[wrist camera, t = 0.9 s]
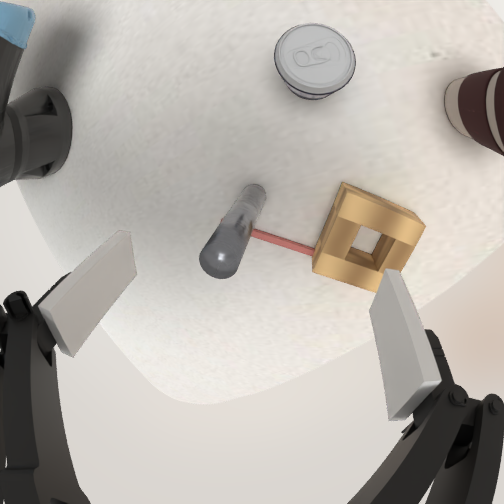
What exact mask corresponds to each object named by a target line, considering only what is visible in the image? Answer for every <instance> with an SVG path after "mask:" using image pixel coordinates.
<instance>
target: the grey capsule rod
mask: <svg viewBox="0 0 504 504" xmlns="http://www.w3.org/2000/svg"><path fill="white" fill-rule="evenodd" d="M265 200H266V192H265V190H264V189H263V188H262V187H261V186H259V185H257V184H251V185H248V186H247V187H245V189H244V190H243V191H242V193H241V194H240V196H239V197H238V199H237V200H236V201H235V203H234V204H233V206H232V207H231V208H230V210H229V211H228V213H227V214H226V216H225V217H224V219H223V220H222V221H221V223H220V224H219V226H218V227H217V229H216V230H215V232H214V233H213V235H212V236H211V238H210V239H209V241H208V242H207V244H206V245H205V247H204V248H203V250H202V251H201V253H200V256H199V261H200V265H201V267H202V268H203V270H204V271H205V272H206V273H207V274H209V275H210V276H212V277H214V278H218V279H226V278H229V277H231V276H233V275H234V274H235V273H236V271H237V269H238V266H239V264H240V261H241V259H242V256H243V254H244V251H245V249H246V246H247V244H248V241H249V239H250V237H251V234H252V232H253V229H254V227H255V224H256V222H257V219H258V217H259V214H260V212H261V210H262V207H263V205H264V202H265Z"/></svg>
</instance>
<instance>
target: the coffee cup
mask: <svg viewBox="0 0 504 504" xmlns="http://www.w3.org/2000/svg"><path fill="white" fill-rule="evenodd" d="M445 108H446V112H447V115H448V118H449V120H450V122H451V123H452V125H453V126H454V127H455V128H456V129H457V130H458V131H459V132H460V133H461V134H463V135H465V136H467V137H470V138H472V139H474V140H475V141H476V142H478V143H479V144H481V145H483V146H485V147H487V148H489V149H491V150H493V151H495V152H497V153H499V154H501V155H503V156H504V67H503V68H498V69H492V70H487V71H482V72H478V73H473V74H471V75H469V76H467V77H464V78H460V79H456V80H454V81H453V82H452V83H451V84H450V85H449V86H448V88H447V91H446V94H445Z"/></svg>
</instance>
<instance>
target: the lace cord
mask: <svg viewBox="0 0 504 504" xmlns="http://www.w3.org/2000/svg"><path fill="white" fill-rule="evenodd" d="M222 220H223V219H222ZM222 220H221V221H222ZM251 236H252V237H255V238H258V239H261V240H264V241H267V242H270V243H273V244H277V245H280V246H283V247H286V248H289V249H292V250H295V251H298V252H301V253H304V254H307V255H310V256H313V254H314V252H315V249H314V248H311V247H308V246H305V245H302V244H299V243H296V242H293V241H290V240H287V239H284V238H281V237H278V236H275V235H272V234H269V233H266V232H263V231H260V230H257V229H253V232H252V234H251Z"/></svg>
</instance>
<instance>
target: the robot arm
mask: <svg viewBox="0 0 504 504" xmlns="http://www.w3.org/2000/svg"><path fill="white" fill-rule="evenodd" d="M34 22H35V13H34V11H33V10H32V9H30V8H28V7H24V6H20V5H15V4H11V3H6V2H0V187H1V186H3V185H5V184H6V183H9V182H11V181H13V180H17V179H40V178H44V177H46V176H49V175H51V174H53V173H55V172H56V171H58V170H59V169H60V168H61V166H62V165H63V163H64V162H65V160H66V157H67V155H68V152H69V148H70V143H71V136H72V123H71V115H70V111H69V107H68V104H67V102H66V100H65V98H64V96H63V95H62V94H61V93H60V92H59V91H58V90H57V89H55V88H52V87H42V88H36V89H33V90H31V91H29V92H27V93H26V94H24V95H22V96H21V97H19V98H17V99H16V100H14V101H12V102H11V103H9V104H7V103H8V99H9V95H10V91H11V88H12V84H13V81H14V77H15V74H16V71H17V68H18V65H19V62H20V59H21V56H22V54H23V51H24V49H26V47H27V44H26V43H27V40H28V38H29V35H30V32H31V30H32V27H33V25H34ZM136 275H137V272H136V266H135V261H134V255H133V248H132V242H131V235H130V232H127V231H120V230H119V231H117V232H116V233H115V234H114V235H113V236H111V237H110V238H109V239H108V240H107V241H106V242H104V243H103V244H102V245H101V246H100V247H99V248H98V249H96V250H95V251H94V252H93V253H92V254H91V255H90V256H89V257H87V258H86V259H85V260H84V261H83V262H82V263H81V264H80V265H79V266H78V267H77V268H76V269H74V270H73V271H72V272H70V273H68V274H66V275H65V276H63V277H61V278H60V279H59V280H58V281H57V282H56V283H55V285H53V286H52V287H51V289H50V290H48V291H47V292H46V293H45V294H44V295H43V296H42V297H41V298H40V299H39V300H38V302H37V303H36V304H35V305H33V307H32V306H31V303H30V301H29V299H28V297H27V294H26V293H25V292H24V291H16V292H13V293H11V294H10V295H9V296H8V297H7V298H6V299H5V300H4V302H3V305H4V307H5V309H6V311H7V313H5V311H4V309H3V307H2V306H1V305H0V349H1V352H0V504H3V501H4V502H5V504H91V503H90V501H89V500H88V498H87V496H86V495H85V494H84V493H83V491H82V490H81V488H80V487H79V484H78V481H77V478H76V475H75V471H74V468H73V464H72V460H71V457H70V452H69V448H68V445H67V439H66V434H65V429H64V424H63V418H62V412H61V406H60V399H59V391H58V380H57V368H56V354H55V350H54V348H53V347H54V346H55V345H56V343H57V345H58V347H59V348H60V350H61V352H62V353H65V354H66V355H69V356H71V357H74V356H75V354H76V353H77V352H78V350H79V349H80V347H81V346H82V345H83V343H84V342H85V340H86V339H87V338H88V336H89V335H90V334H91V332H92V331H93V330H94V328H95V327H96V326H97V324H98V323H99V322H100V320H101V319H102V318H103V316H104V315H105V314H106V313H107V311H108V310H109V309H110V307H111V306H112V305H113V304H114V302H115V301H116V300H117V299H118V297H119V296H120V295H121V294H122V292H123V291H124V290H125V289H126V287H127V286H128V285H129V284H130V282H131V281H132V280H133V279H134V278H135V276H136ZM369 313H370V317H371V321H372V326H373V330H374V335H375V340H376V345H377V349H378V355H379V360H380V366H381V371H382V377H383V383H384V389H385V396H386V403H387V411H388V419H389V421H398V420H406V419H407V417H409V416H410V414H412V413H413V418H414V421H413V422H412V423H411V424H409V425H408V426H407V427H406V428H405V429H404V430H403V431H402V433H404V432H405V433H404V434H403V436H402V437H401V439H400V440H399V442H398V443H397V444H396V446H395V447H394V448H393V450H392V451H391V453H390V454H389V455H388V457H387V458H386V459H385V460H384V462H383V463H382V464H381V466H380V467H379V468H378V469H377V471H376V472H375V473H374V474H373V475H372V477H371V478H370V479H369V480H368V481H367V483H366V484H365V485H364V486H363V487H362V488H361V489H360V490H359V492H358V493H357V494H356V495H355V496H354V497H353V498H352V499H351V500H350V501H349V502H348V503H347V504H418V503H419V502H420V501H421V499H422V497H423V496H424V494H425V493H426V491H427V490H428V488H429V486H430V485H431V483H432V482H433V480H434V482H433V485H432V487H431V490H430V493H429V495H428V498H427V501H426V503H425V504H492V501H493V497H494V493H495V489H496V484H497V479H498V474H499V468H500V462H501V456H502V448H503V438H504V403H503V401H502V399H501V398H500V397H499V396H497V395H496V394H489V395H487V396H486V397H485V398H484V399H483V400H482V401H480V400H476V399H472V398H469V397H468V394H467V393H466V391H465V390H464V389H463V388H462V387H461V386H459V385H456V384H455V383H454V381H453V377H452V374H451V371H450V369H449V365H448V363H447V360H446V357H444V356H445V354H444V352H443V349H442V346H441V344H440V341H439V339H438V337H437V336H436V335H435V334H434V332H433V331H432V330H426V329H424V328H423V325H422V322H421V320H420V317H419V315H418V312H417V310H416V307H415V305H414V303H413V300H412V298H411V296H410V293H409V291H408V289H407V287H406V284H405V282H404V280H403V278H402V276H401V274H400V271H399V270H393V269H386V268H385V271H384V274H383V277H382V280H381V282H380V285H379V287H378V290H377V293H376V295H375V298H374V300H373V303H372V305H371V308H370V310H369ZM6 458H7V467H6V468H5V466H6V465H5V464H6ZM434 478H435V479H434Z"/></svg>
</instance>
